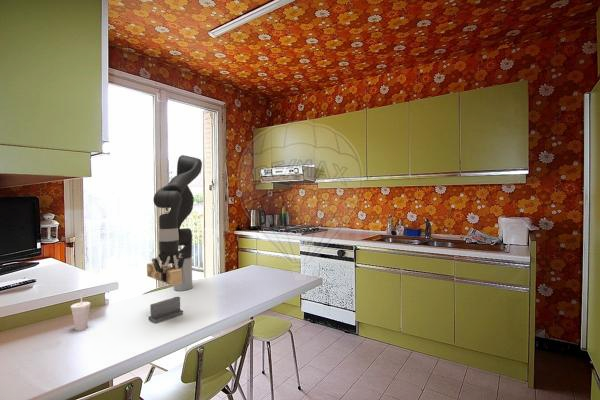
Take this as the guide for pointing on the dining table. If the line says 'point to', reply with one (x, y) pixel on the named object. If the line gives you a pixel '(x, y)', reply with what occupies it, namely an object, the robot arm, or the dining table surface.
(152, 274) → the oak beam
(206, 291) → the dining table surface
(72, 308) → the smoothie
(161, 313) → the ridge
